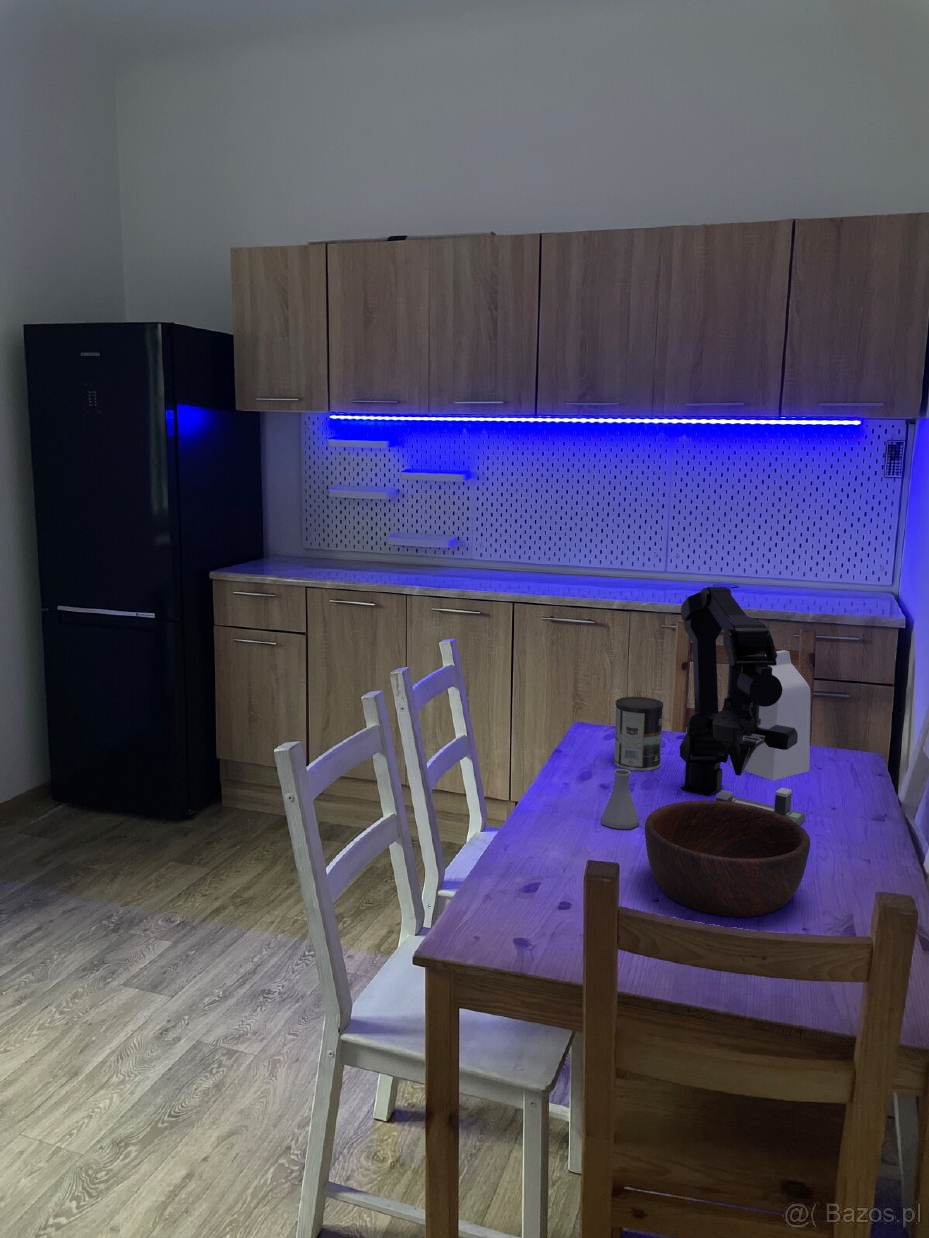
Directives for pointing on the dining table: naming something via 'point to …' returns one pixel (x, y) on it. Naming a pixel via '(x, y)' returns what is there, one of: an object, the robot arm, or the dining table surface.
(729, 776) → the dining table surface
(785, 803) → the breaker far
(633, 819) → the flask
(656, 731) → the coffee can
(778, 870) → the wooden bowl
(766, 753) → the milk
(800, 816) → the panel
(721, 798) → the block
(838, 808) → the dining table surface
